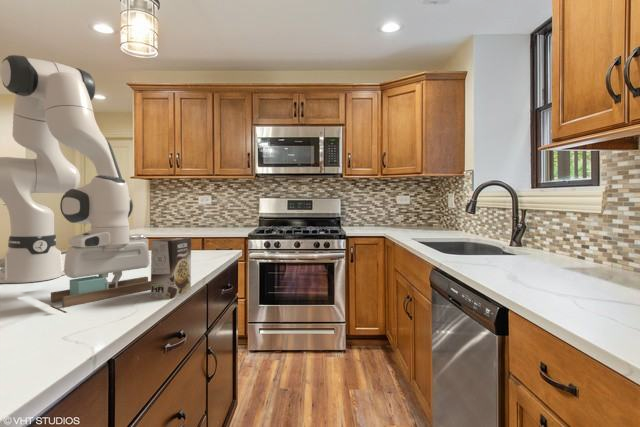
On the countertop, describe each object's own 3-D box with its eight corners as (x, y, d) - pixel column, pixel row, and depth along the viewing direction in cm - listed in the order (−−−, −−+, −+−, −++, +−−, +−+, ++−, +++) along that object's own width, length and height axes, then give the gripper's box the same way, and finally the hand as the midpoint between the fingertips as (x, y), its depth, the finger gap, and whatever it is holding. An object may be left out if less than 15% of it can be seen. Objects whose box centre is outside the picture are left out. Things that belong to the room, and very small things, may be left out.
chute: (50, 306, 86) (50, 292, 86) (145, 287, 106) (145, 276, 106) (64, 312, 81) (64, 297, 81) (161, 292, 101) (161, 280, 101)
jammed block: (69, 299, 88) (69, 279, 88) (95, 294, 93) (95, 275, 93) (78, 303, 85) (78, 282, 85) (105, 297, 90) (105, 278, 90)
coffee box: (171, 303, 90) (172, 240, 90) (149, 301, 91) (150, 239, 91) (191, 294, 99) (192, 237, 98) (171, 293, 100) (171, 236, 100)
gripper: (142, 234, 103) (141, 280, 104) (61, 239, 86) (61, 295, 87) (154, 235, 100) (154, 283, 100) (72, 241, 83) (72, 299, 83)
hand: (110, 289), depth 93 cm, fingers closed
